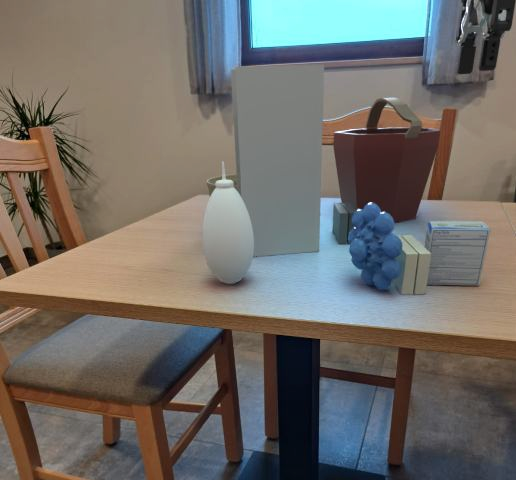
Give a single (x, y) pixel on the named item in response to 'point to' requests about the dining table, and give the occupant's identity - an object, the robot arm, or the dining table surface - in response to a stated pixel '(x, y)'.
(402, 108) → the bucket
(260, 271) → the dining table surface
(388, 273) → the grapes
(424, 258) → the cream booklets
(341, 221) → the grey booklets
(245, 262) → the white air blower bulb
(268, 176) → the tall grey box
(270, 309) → the dining table surface
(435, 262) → the medicine box
